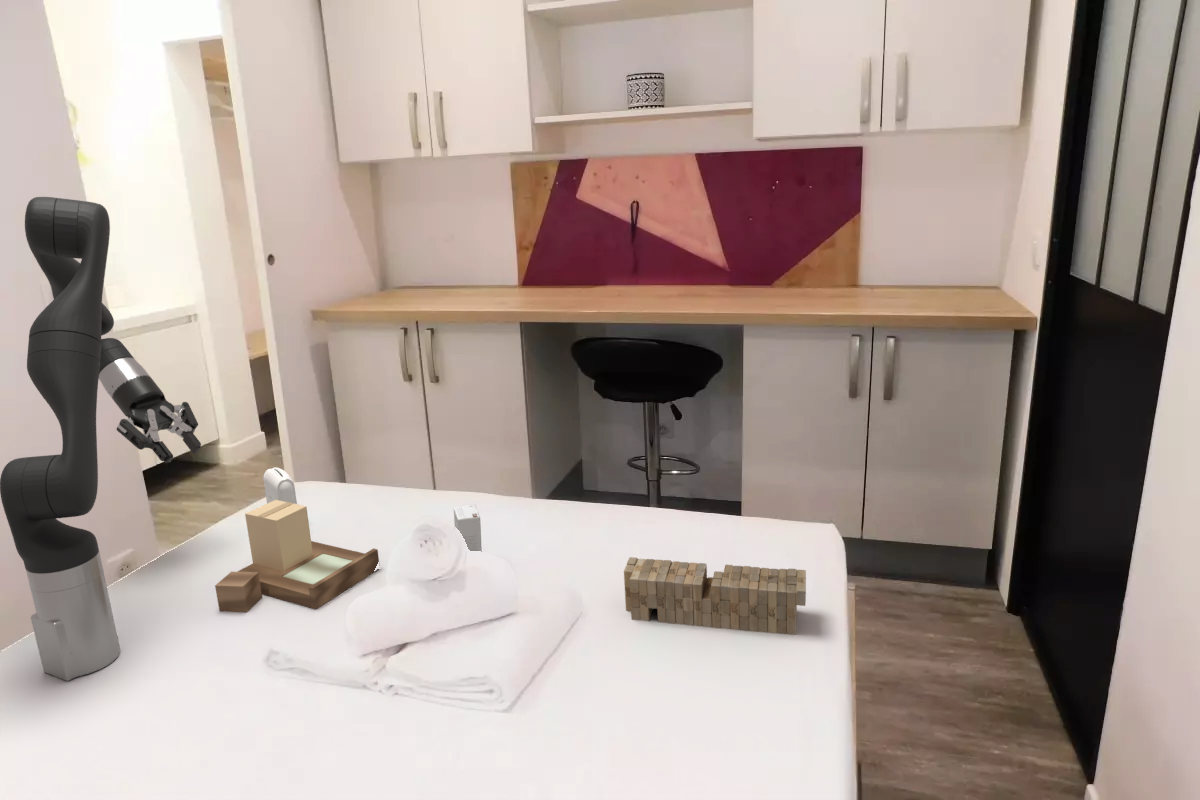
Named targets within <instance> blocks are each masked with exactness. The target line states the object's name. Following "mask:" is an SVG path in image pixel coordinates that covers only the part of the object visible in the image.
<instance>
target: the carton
mask: <svg viewBox="0 0 1200 800" xmlns="http://www.w3.org/2000/svg"><path fill="white" fill-rule="evenodd" d="M244 514H245V521H246V529H247V536H248V541H249V546H250V553H251V558H252V559H251V561H252V564H253V563H254V564H258V565H261V566H265V567H269V568H273V569H277V570H280V571H286V570H287V569H289V568H291V567H293V566H295V565H296V564H298V563H300V562H302V561H304V560H305V559H307V558H309V557H311V556H313V551H312V544H311V541H312V538H311V537H312V536H311V529H310V524H309V523H310V522H309V516H308V515H309V514H308V508H307V505H302V504H298V503H297V504H293V503H289V502H284V501H279V500H274V501H272V502H270V503H267V502H266V503H265V504H264V505H261V506H258V507H256V508H254V509H252V510H250V511H247V512H246V513H244Z"/></svg>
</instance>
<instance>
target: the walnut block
mask: <svg viewBox="0 0 1200 800" xmlns="http://www.w3.org/2000/svg"><path fill="white" fill-rule="evenodd" d="M214 587H215V593H216V598H217V604H218V610H219V612H223V613H224V612H225V613H226V612H227V613H229V612H232V613H248V612H249V611H251V609H252V608H253V607H254V606H255V605H256V604H257V603H258V602H259V601H260V600H262V598H263V594H262V593H261V586H260V580H259V573H258V572H237V571H230V572H229V573H228V574H227V575H226V576H225V577H223V578H222V579H220V581H219V582H218V583H216V584H215V585H214Z"/></svg>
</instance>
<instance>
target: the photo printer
mask: <svg viewBox="0 0 1200 800" xmlns="http://www.w3.org/2000/svg"><path fill="white" fill-rule="evenodd" d="M262 480H263V485H264V491H265V498H266V504H267V503H270V502H272V501H274V500H279V501H284V502H289V503H293V504H298V501H297V495H296V488H295V482H294V480H293V479H292V477H291V476H290V475H289V474H288V472H287V471H285V470H284V469H282V468H280V467H275V466H274V467H272V468H268V469H266V470H265V471H264V473H263V479H262Z"/></svg>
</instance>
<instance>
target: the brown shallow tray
mask: <svg viewBox="0 0 1200 800" xmlns="http://www.w3.org/2000/svg"><path fill="white" fill-rule="evenodd" d="M311 544H312V551H313V556H311V557H309V558H307V559H305V560H304V561H302V562H300V563H298V564H296V565H295V566H293V567H291V568H289V569H287V570H286V571H280V570H277V569H273V568H269V567H265V566H261V565H258V564H254V563H253V562H252V563H250V564H249V565H248V566H247V565H246V566H244V567H243V568H241V569H239V570H237V571H236V572H258V573H259V580H260V586H261V593H262V596H263V595H264V596H267V597H270V598H275V599H278V600H281V601H286V602H288V603H293V604H296V605H299V606H303V607H307V608H309V609H313V610H317V609H319V608H320V607H322V606H324V605H325V604H326V603H328V602H330V601H332V600H334V599H335V598H336V597H338V596H339V595H340V594H342V593H344V592H346V591H347V590H348V589H350V588H352V587H353V586H355V585H356V584H358V583H360V582H361V581H363V580H364V579H366V578H367V577H370V576H371V575H372V574H374V573H375V572H374V570H375V568H376V566H377V564H378V562H379V563H380V558H379V550H378V549H377V548H372V549H370V550H369V551H366V552H365V553H364V552H360V551H356V550H352V549H347V548H342V547H339V546H334V545H329V544H326V543H321V542H318V541H313V540H311ZM373 572H374V573H373Z"/></svg>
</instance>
